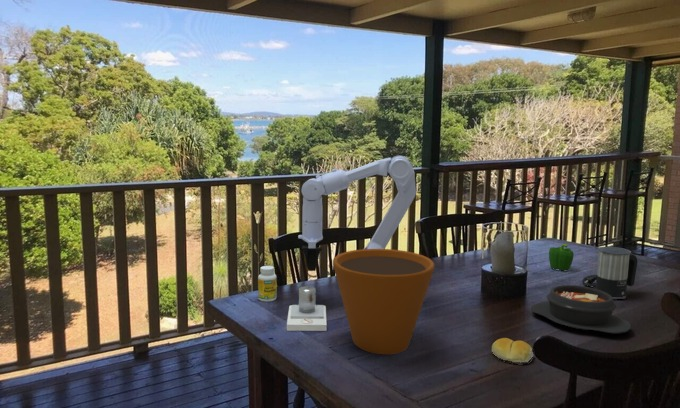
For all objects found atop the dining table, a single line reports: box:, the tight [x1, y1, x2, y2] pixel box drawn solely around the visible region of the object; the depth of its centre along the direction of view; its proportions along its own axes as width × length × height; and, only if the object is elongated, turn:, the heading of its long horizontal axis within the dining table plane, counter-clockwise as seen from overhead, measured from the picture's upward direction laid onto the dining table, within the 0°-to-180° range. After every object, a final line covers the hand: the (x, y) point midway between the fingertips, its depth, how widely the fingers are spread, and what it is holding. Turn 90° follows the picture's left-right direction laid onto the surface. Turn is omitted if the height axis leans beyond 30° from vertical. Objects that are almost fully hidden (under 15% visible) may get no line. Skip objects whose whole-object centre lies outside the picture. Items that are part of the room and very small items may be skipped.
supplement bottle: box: [257, 265, 278, 303], centre depth 155 cm, size 5×5×10 cm
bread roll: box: [491, 337, 534, 363], centre depth 120 cm, size 8×9×4 cm
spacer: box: [298, 285, 317, 313], centre depth 140 cm, size 4×4×6 cm
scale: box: [286, 304, 328, 332], centre depth 139 cm, size 10×14×2 cm
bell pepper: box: [548, 243, 574, 271], centre depth 193 cm, size 8×8×10 cm
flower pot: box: [332, 248, 435, 355], centre depth 126 cm, size 24×24×20 cm
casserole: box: [530, 284, 632, 335], centre depth 141 cm, size 25×19×8 cm
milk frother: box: [581, 246, 638, 297], centre depth 168 cm, size 14×16×15 cm
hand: (311, 266), depth 153 cm, fingers open, 7 cm apart
